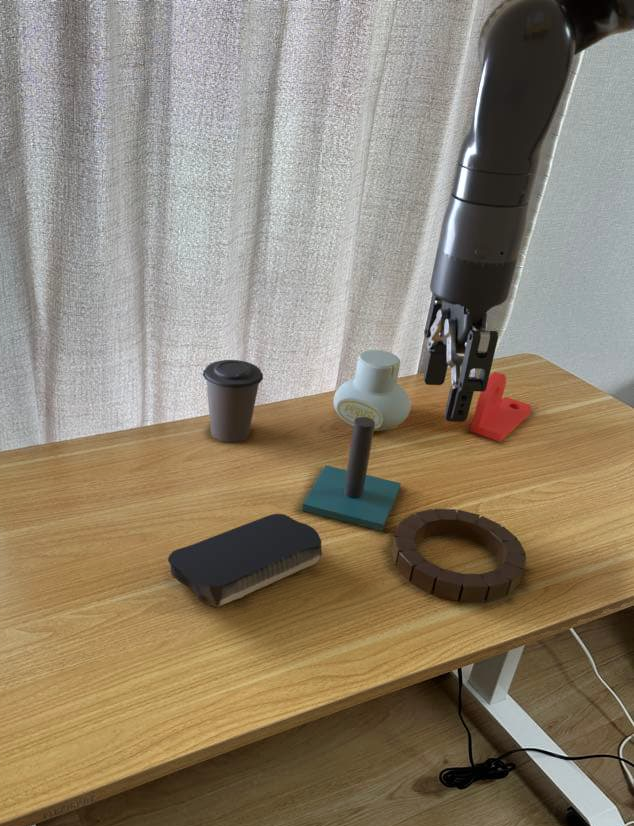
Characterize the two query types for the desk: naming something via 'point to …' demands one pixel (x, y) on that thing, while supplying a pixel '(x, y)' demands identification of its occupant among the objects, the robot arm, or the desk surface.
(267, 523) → the black board eraser
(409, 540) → the ring
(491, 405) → the bracket
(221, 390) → the coffee cup
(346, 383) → the air freshener
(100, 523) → the desk surface
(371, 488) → the post stand
